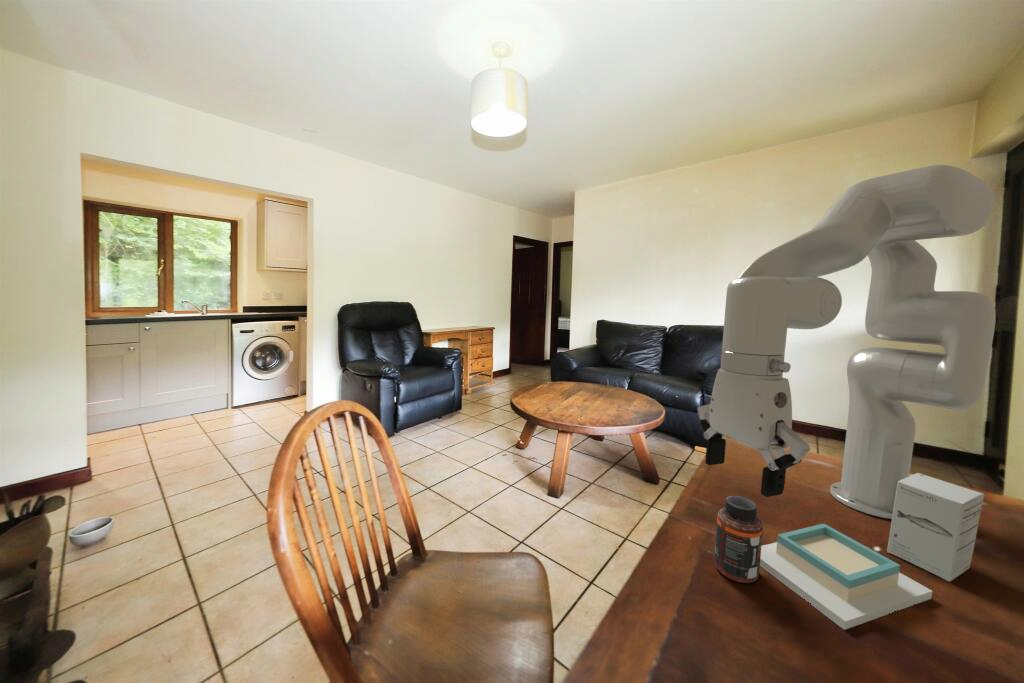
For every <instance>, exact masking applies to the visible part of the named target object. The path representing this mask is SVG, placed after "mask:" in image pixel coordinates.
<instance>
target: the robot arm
mask: <svg viewBox="0 0 1024 683" xmlns="http://www.w3.org/2000/svg"><path fill="white" fill-rule="evenodd" d="M995 200H996V198H995V195H994V191H993V189H992V188H991V187H990V185H989V184H988V183H987V182H986V181H985V180H983V179H982V178H980V177H978V176H976V175H975V174H974V173H971V172H970V171H968V170H966V169H963V168H960V167H957V166H954V165H947V164H935V165H929V166H922V167H919V168H918V167H917V168H913V169H909V170H904V171H900V172H895V173H891V174H885V175H881V176H876V177H872V178H868V179H865V180H862V181H859V182H857V183H855V184H853V185H851V186H850V187H848V188H847V189H846V190H845V191H844V192H843V193H841V194H840V196H839V197H838V198H837V200H836V201H834V203H833V204H832V205H831V206H830V208H828V210H827V211H826V212H825V213H824V214H823V215H822V216H821V218H820V219H819V220H818V222H816V223H815V225H813V227H812V228H811V230H808V231H806V232H804V233H801V234H800V235H798V236H796V237H794V238H792V239H790V240H788V241H786V242H784V243H783V244H781V245H778V246H776V247H774V248H773V249H771V250H769V251H767V252H765V253H763V254H762V255H760V256H759V257H757V258H756V259H754V261H752V262H751V263H750V264H749V265H748V266H747V267H746V268H745V269H744V270H743V271H742V272H741V274H739V275H738V277H737V278H735V279H732V280H731V281H730V282H729V283H728V286H727V288H726V295H725V296H726V297H725V306H724V307H725V311H724V320H723V333H722V334H723V335H722V347H721V359H720V368H718V370H717V372H716V376H715V379H714V383H713V387H712V392H711V398H710V403H707V404H704V405H702V406H701V405H700V406H698V407H697V414H698V416H699V420H700V421H699V422H700V423H699V424H700V426H701V428H702V430H703V438H704V439H706V450H705V461H704V462H705V464H706V465H707V466H714V465H722V464H724V463H725V458H726V457H725V456H726V444H727V442H726V441H727V440H726V439H725V438H723V437H726V438H728V439H731V440H733V441H735V442H737V443H740V444H742V445H744V446H747V447H750V448H752V449H754V450H757V451H759V453H761V456H762V457H763V459H764V461H765V463H766V465H767V466H764V467H763V469H762V473H761V474H762V476H761V486H760V493H761V495H762V496H763V497H765V498H770V497H776V496H779V495H780V496H781V495H783V493H784V490H785V483H786V473H787V469H791V468H792V467H793V466H795V465H798V464H800V463H801V462H802V461H803V460H802V459H804V457H805V456H806V455H807V454H808V453H809V451H810V450H811V446H810V445H809V444H808V443H807V442H806V441H805V440H804V439H803V438H802V437H801V436H799V435H798V434H797V433H796V432H795V431H794V430H793V406H792V405H793V402H792V394H791V393H792V392H791V385H790V381H789V379H788V378H786V377H783V373H789V372H790V370H791V363H789V362H785V356H786V355H785V354H786V346H787V345H786V344H787V337H788V336H787V334H788V329H793V330H796V329H797V330H816V329H819V328H822V327H825V326H827V325H829V324H830V323H832V322H833V321H834V320H835V319H836V318H837V316H838V315H839V313H840V311H841V309H842V304H843V299H842V294H841V293H842V292H840V290H839V287H838V286H836V284H835V283H833V282H832V281H831V280H829V279H826V278H823V276H825V275H830V274H833V273H836V272H840V271H843V270H846V269H849V268H852V267H853V266H856V265H858V264H859V263H861V262H862V261H863V260H865V259H866V257H868V261H869V262H870V266H871V275H870V276H871V277H870V284H869V291H868V297H867V304H866V310H865V319H864V321H865V322H864V324H865V325H864V326H865V331H866V333H867V334H868V335H869V336H870V337H873V338H874V339H877V340H878V339H879V340H881V341H882V340H883V341H889V342H899V343H909V344H910V343H911V344H921V345H922V344H923V345H934V346H941V347H942V348H943V349H944V352H945V353H942V352H941V353H940V352H931V351H922V350H921V351H920V350H917V349H916V350H915V349H905V348H892V347H882V346H881V347H867V348H862V349H859V350H857V351H856V352H854V353H853V354H852V355H851V356H850V358H849V359H848V362H847V365H846V367H847V368H846V376H847V382H848V392H849V393H848V394H849V397H848V398H849V405H848V416H847V426H846V433H845V442H844V443H845V444H844V450H843V451H844V452H843V460H842V470H841V476H840V477H841V479H840V481H837V482H836V481H835V482H833V483H832V484H831V485H830V488H829V492H830V494H831V495H832V497H833V498H834V499H836V500H837V501H838V502H840V503H841V504H843V505H845V506H847V507H849V508H852V509H854V510H856V511H859V512H861V513H863V514H868V515H870V516H871V515H872V516H875V517H879V518H883V519H889V520H892V516H893V509H894V502H895V496H896V490H897V483H898V481H900V480H902V479H904V478H907V477H909V476H910V473H911V472H910V471H911V466H912V459H913V452H914V446H915V445H914V444H915V436H916V428H917V426H916V425H917V424H916V421H915V418H914V417H913V414H912V412H911V411H910V410H909V409H908V406H906V405H905V403H904V402H909V403H914V404H919V405H924V406H925V405H926V406H930V407H936V408H943V409H947V410H956V411H957V410H958V411H959V410H960V411H962V410H968V409H971V408H973V407H974V406H976V405H977V404H978V403H979V402H980V400H981V398H982V395H983V392H984V389H985V384H986V380H987V374H988V369H989V368H988V367H989V362H990V356H991V351H992V346H993V341H994V334H995V329H996V328H995V327H996V308H995V306H994V303H993V301H992V300H991V298H990V297H988V296H987V295H985V294H983V293H980V292H975V291H966V290H965V291H963V290H962V291H961V290H952V291H950V290H949V291H947V290H946V291H945V290H943V291H939V290H937V291H936V289H935V282H936V276H937V270H938V263H937V260H936V259H935V257H934V256H933V255H932V254H931V253H930V251H928V250H927V248H926V247H924V246H923V245H922V244H920V243H919V242H918V241H919V240H932V239H941V238H943V239H944V238H950V237H951V238H954V237H961V236H968V235H971V234H974V233H976V232H978V231H980V230H981V229H983V228H984V227H985V226H986V225H987V224H988V222H989V221H990V220H991V219H992V216H993V214H994V210H995V203H996V201H995ZM786 448H789V450H788V452H786V451H785V449H786Z"/></svg>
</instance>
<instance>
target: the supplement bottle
mask: <svg viewBox="0 0 1024 683" xmlns="http://www.w3.org/2000/svg"><path fill="white" fill-rule="evenodd" d="M763 526H764V525H763V521H762V520H761V519H760V518H759V517H758V516H757V504H756V502H754V501H752V500H751V499H749V498H746V497H744V496H740V495H729V496H727V497H726V498H725V502H724V507H722V508H721V509H719V510H718V512H717V516H716V527H715V528H716V529H715V542H714V543H715V544H714V545H715V546H714V559H713V560H714V566H715V568H716V569H717V570H718V571H719V573H721V574H722V575H723V576H724V577H726V578H727V579H729V580H732V581H734V582H737V583H740V584H741V583H743V584H751V583H755V582H757V580H758V578H759V574H760V567H761V566H760V557H761V546H763V545H762V544H763V543H762V542H763V531H764V530H763V529H764V527H763Z"/></svg>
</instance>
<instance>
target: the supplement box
mask: <svg viewBox="0 0 1024 683" xmlns="http://www.w3.org/2000/svg"><path fill="white" fill-rule="evenodd" d="M984 498H985V493H982V492H980V491H977V490H974V489H969V488H967V487H963V486H960V485H956V484H954V483H951V482H947V481H944V480H941V479H939V478H936V477H932V476H929V475H926V474H923V473H920V472H916V473H914V474H912V475H909V477H907V478H904V479H902V480H900V481H898V483H897V490H896V496H895V502H894V509H893V516H892V519H891V524H890V528H889V529H890V530H889V536H888V543H887V549H886V551H887V553H888V554H891V555H893V556H896V557H898V558H900V559H902V560H905V561H906V562H909V563H911V564H912V565H914V566H917V567H919V568H921V569H924V570H925V571H927V572H929V573H932V574H933V575H935V576H938V577H939V578H941V579H943V580H945V581H946V582H949V583H950V582H952V581H954V580H956V578H958V577H959V576H960V575H962V574H963V573H965V572H966V571H967V570H969V569H970V567H971V565H972V564H971V563H972V558H973V553H974V549H975V545H976V539H977V534H978V528H979V521H980V518H981V511H982V507H983V502H984Z"/></svg>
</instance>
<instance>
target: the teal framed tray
mask: <svg viewBox="0 0 1024 683" xmlns="http://www.w3.org/2000/svg"><path fill="white" fill-rule="evenodd" d="M776 539H777V540H776V542H773V543H768V544H763V545H761V557H760V567H761V568H762V569H764V570H765V571H766V572H768V573H769V574H770V575H772V576H773V577H774V578H775V579H777V580H778V581H780V582H781V583H782V584H783V585H785V587H787V588H788V589H790V590H791V591H793V592H794V593H795V594H796V595H798V596H799V597H801V599H803V600H804V599H805V600H804V601H806V602H807V603H808V602H809V603H808V604H810V603H811V604H810V605H811V606H812V607H813V608H814V609H816V610H817V611H818V612H820V613H821V614H822V615H824V616H826V617H827V618H828V619H829V620H831V621H832V622H833V623H834V624H836V625H837V626H839V628H841V629H842V630H843V631H845V630H848V629H850V628H854V627H856V626H859V625H862V624H864V623H867V622H871V621H873V620H876V619H878V618H879V619H880V618H881V617H884V616H888V615H890V614H892V612H893V613H895V612H894V611H896V612H898V611H900V610H901V611H902V610H904V609H906V608H909V607H912V606H915V605H918V604H920V603H923V602H926V601H929V600H931V599H932V596H933V590H932V589H930V588H928V587H926V586H924V585H922V584H921V583H919V582H918V581H915V580H914V579H912V578H911V577H908V576H907V575H906V574H903V573H902V572H900V569H901V564H899V563H897V562H895V561H893V560H891V559H890V558H888V557H886V556H885V555H882V554H880V553H879V552H876V551H875V550H873V549H871V548H870V547H868V546H866V545H864V544H862V543H861V542H859V541H857V540H855V539H853V538H851V537H849V536H848V535H846V534H844V533H842V532H840V531H838V530H836V529H835V528H833V527H831V526H829V525H827V524H825V523H821V524H817V525H813V526H812V525H811V526H807V527H803V528H799V529H795V530H791V531H788V532H783V533H779V534H777V538H776ZM914 604H915V605H914ZM897 610H898V611H897ZM889 613H890V614H889Z"/></svg>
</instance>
